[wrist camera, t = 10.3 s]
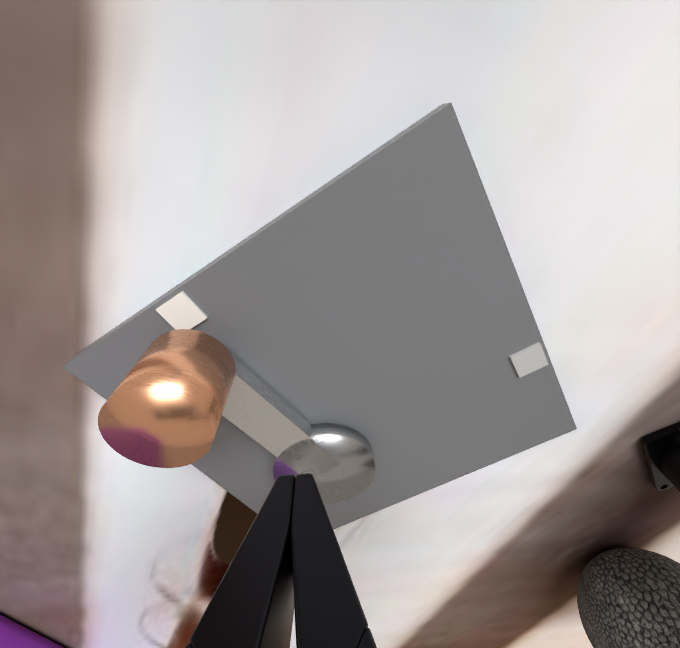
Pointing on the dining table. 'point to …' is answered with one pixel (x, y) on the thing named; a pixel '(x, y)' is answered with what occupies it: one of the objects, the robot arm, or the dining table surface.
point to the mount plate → (370, 325)
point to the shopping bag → (21, 636)
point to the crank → (235, 405)
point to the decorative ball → (630, 600)
